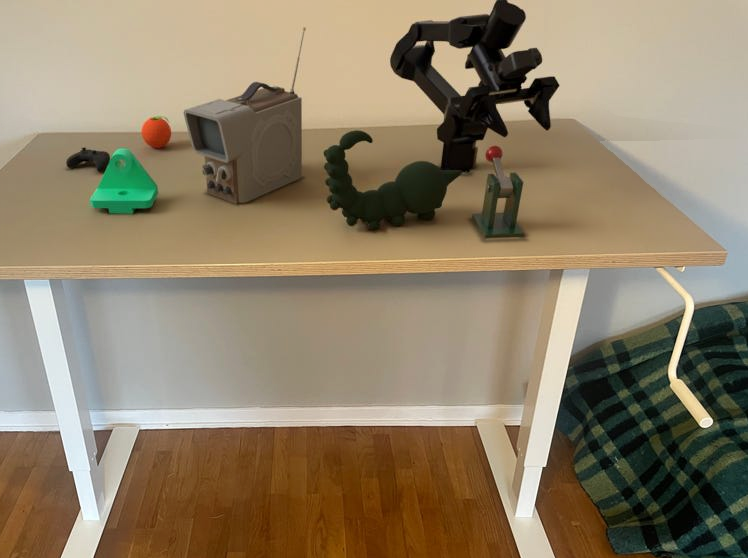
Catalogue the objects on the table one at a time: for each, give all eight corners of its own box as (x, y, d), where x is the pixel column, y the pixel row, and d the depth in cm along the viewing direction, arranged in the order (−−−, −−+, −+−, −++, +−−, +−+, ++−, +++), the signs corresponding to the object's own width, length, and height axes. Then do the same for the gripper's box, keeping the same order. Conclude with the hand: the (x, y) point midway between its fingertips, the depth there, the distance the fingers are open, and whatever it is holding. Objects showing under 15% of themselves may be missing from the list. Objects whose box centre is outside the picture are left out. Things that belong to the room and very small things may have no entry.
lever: (482, 155, 135) (486, 142, 133) (498, 154, 135) (502, 141, 133) (494, 199, 129) (499, 187, 127) (511, 199, 129) (516, 186, 127)
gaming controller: (63, 165, 163) (70, 140, 164) (75, 175, 168) (83, 151, 169) (100, 170, 160) (107, 144, 160) (112, 180, 165) (119, 156, 166)
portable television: (189, 197, 149) (174, 40, 131) (269, 164, 163) (265, 18, 145) (230, 213, 142) (220, 49, 125) (310, 177, 156) (311, 25, 139)
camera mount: (91, 213, 144) (81, 162, 138) (101, 197, 150) (92, 148, 144) (151, 213, 143) (144, 162, 137) (158, 197, 149) (152, 148, 143)
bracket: (471, 219, 137) (478, 169, 131) (508, 218, 137) (517, 167, 131) (484, 241, 130) (492, 188, 124) (523, 239, 130) (533, 186, 124)
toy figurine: (335, 246, 133) (469, 224, 134) (328, 145, 122) (474, 121, 123) (325, 224, 140) (452, 203, 142) (318, 127, 129) (455, 105, 131)
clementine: (160, 139, 179) (157, 109, 175) (181, 144, 175) (178, 114, 171) (137, 148, 173) (133, 118, 169) (158, 154, 170) (155, 123, 166)
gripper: (467, 39, 130) (503, 107, 124) (555, 29, 135) (594, 93, 129) (444, 86, 140) (476, 150, 134) (526, 75, 145) (561, 136, 139)
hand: (527, 132), depth 134 cm, fingers open, 9 cm apart
